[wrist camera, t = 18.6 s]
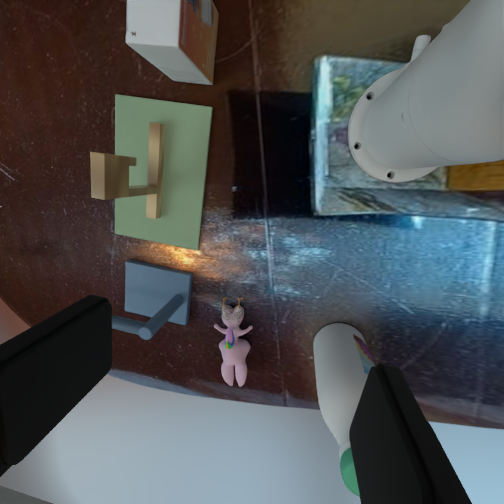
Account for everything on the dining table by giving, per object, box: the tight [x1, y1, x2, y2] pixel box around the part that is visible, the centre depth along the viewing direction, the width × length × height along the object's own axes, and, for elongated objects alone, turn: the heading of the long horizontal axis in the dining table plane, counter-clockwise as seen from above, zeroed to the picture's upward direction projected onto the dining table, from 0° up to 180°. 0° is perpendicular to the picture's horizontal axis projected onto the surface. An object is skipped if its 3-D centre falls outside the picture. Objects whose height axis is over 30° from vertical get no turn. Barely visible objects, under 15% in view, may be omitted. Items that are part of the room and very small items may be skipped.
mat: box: [115, 94, 213, 250], centre depth 39 cm, size 20×14×1 cm
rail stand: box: [112, 260, 193, 340], centre depth 39 cm, size 9×11×11 cm
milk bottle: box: [314, 323, 375, 497], centre depth 32 cm, size 8×8×20 cm
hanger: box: [90, 122, 165, 219], centre depth 33 cm, size 13×2×12 cm, turn 171°
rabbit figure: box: [214, 297, 253, 387], centre depth 42 cm, size 6×6×15 cm
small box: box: [126, 0, 219, 85], centre depth 29 cm, size 8×6×10 cm
